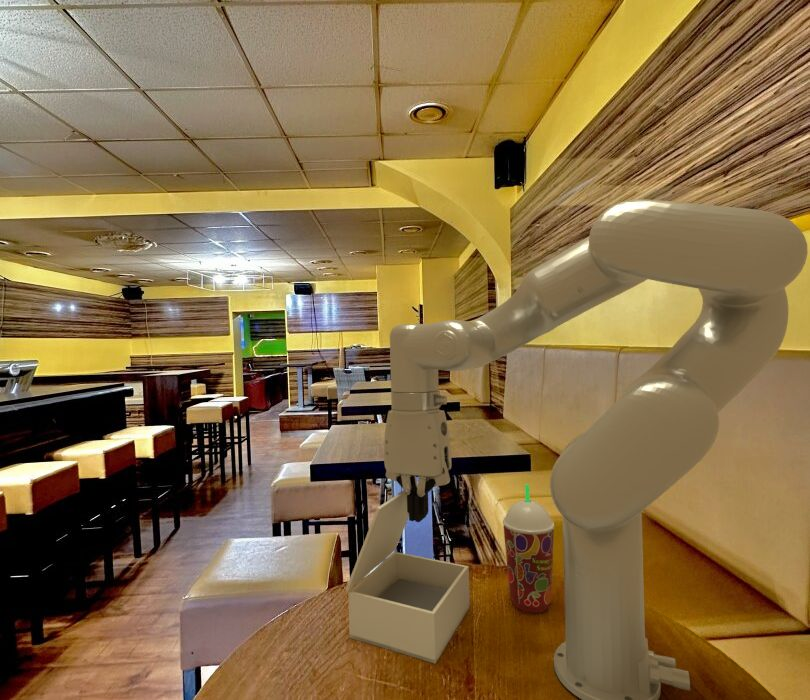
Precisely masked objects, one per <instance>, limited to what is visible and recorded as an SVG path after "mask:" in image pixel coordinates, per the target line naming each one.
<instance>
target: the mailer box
mask: <svg viewBox="0 0 810 700" xmlns="http://www.w3.org/2000/svg"><path fill="white" fill-rule="evenodd" d="M347 593H348V595H347V596H348V624H349V625H348V627H349V628H348V631H349V634H348V635H349V638H350V639H353V640H355V641H356V640H357V641H360V642H363V643H366V644H369V645H372V646H376V647H378V648H382V649H386V650H389V651H391V652H396V653H398V654H402V655H405V656H409V657H411V658H415V659H418V660H422V661H424V662H427V663H432V664H436V663H437V662H438V661H439V658H441V656H442V653H444V651H445V649H446V647H447V646H448V643H450V640H451V639H452V637H453V636H454V633H456V631H457V629H458V628H459V626H460V624H461V622H462V621H463V619H464V618H465V616H466V614H467V613H468V612H469V609H470V607H471V606H470V605H471V604H470V603H471V601H470V600H471V599H470V567H469V566H468V565H465V564H459V563H455V562H448V561H444V560H439V559H433V558H427V557H424V556H417V555H413V554H408V553H403V552H397V551H394V552H392V553H391V554H390V555H389V556H388V557H387V558H386V559H384V560H383V561H382V562H381V563H380V564H379V565H378V566H376V567H375V568H374V569H373V570H372V571H371V572H370V573H368V574H367V575H366V576H365V577H364V578H363V579H362V580H360V581H359V582H358V583H357V584H356V585H355V586H354V587H352V588H351V589H350V590H349V591H348V592H347Z"/></svg>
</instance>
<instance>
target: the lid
mask: <svg viewBox="0 0 810 700" xmlns="http://www.w3.org/2000/svg"><path fill="white" fill-rule="evenodd" d="M417 486H418V481H417ZM408 520H409V513H408V512H407V495H406V494H404V491H403V490H402V491H400V492H399V493H397V494H396V495H394V496H393V497H392V498H391V499H389V500H387V501H385V502H383V504H381V505H379V506H378V507H377V508H376V510H375V512H374V516H373V518H372V520H371V523H370V526H369V527H368V531H367V534H366V536H365V539H364V542H363V545H362V546H361V549H360V552H359V553H358V556H357V559H356V562H355V565H354V568H353V569H352V573H350V577H349V580H348V582H347V585H346V587H345V592H347V593H348V592H349V591H350V590H352V589H353V588H354V587H355V586H356V585H357V584H358V583H360V582H361V581H362V580H363V579H364V578H365V577H366V576H368V575H369V574H370V573H371V572H372V571H373V570H374V569H376V568H377V567H378V566H379V565H380V564H381V563H382V562H384V561H385V560H386V559H387V558H388V557H389V556H390V555H392V554H393V553H394V552H396V550H397V546H398V544H399V542H400V540H401V537H402V534H403V532H404V530H405V527H406V525H407V523H408Z"/></svg>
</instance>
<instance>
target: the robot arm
mask: <svg viewBox="0 0 810 700" xmlns="http://www.w3.org/2000/svg"><path fill="white" fill-rule="evenodd" d="M807 258H808V243H807V239H806V236H805V234H804V233H803V232H802V230H801V229H800V227H799V226H798V225H796V224H795V223H794V222H793V221H792V220H790V219H789V218H786V217H785V216H783V215H780V214H778V213H777V214H776V213H774V212H771V211H767V210H760V209H754V208H748V207H747V208H745V207H735V206H726V205H725V206H723V205H714V204H713V205H712V204H704V203H703V204H700V203H693V202H692V203H691V202H682V201H681V202H680V201H674V200H673V201H672V200H670V201H669V200H661V199H646V198H645V199H644V198H643V199H641V198H640V199H639V198H638V199H628V200H624V201H620V202H618V203H615V204H613V205H611V206H609V207H608V208H606V209H605V210H603V212H602V213H601V214H600V215H599V216H597V218H596V219H595V221H593V224H592V227H591V228H590V232H589V236H587V237H586V238H584V239H582V240H580V241H578V242H577V243H575V244H574V245H572V246H570V247H569V248H567V249H565V250H564V251H562V252H560V253H559V254H557V255H555V256H553V257H551V258H550V259H548V260H547V261H544V262H543V263H541V264H540V265H537V266H536V267H534V268H532V269H531V270H529V272H527V274H526V275H525V276H524V277H523V278H522V280H521V282H520V283H519V286H518V288H517V289H516V291H515V292H514V293H513V294H512V295H511V296H510V297H509V298H508V299H507V300H506V301H504V302H503V303H501V304H500V305H498V306H496V307H495V308H493V309H491V310H490V311H488V312H486V313H485V314H483V315H482V316H480V317H478V318H476V319H474V320H472V321H468V320H460V319H447V320H446V319H445V320H442V321H441V320H440V321H436V322H432V323H407V324H399V325H395V326H394V327H392V329H391V330H390V333H389V352H390V353H389V355H390V356H389V360H390V387H391V388H390V395H391V399H390V400H391V410H388V412H387V417H386V423H385V429H384V440H383V441H384V445H383V460H384V461H383V462H384V463H383V464H384V468H385V470H386V471H385V477H386V478H387V479H388V480H391V481H394V482H396V483H398V484H399V486H400V487H401V488H402V491H404V494H406V495H407V512H408V513H409V517H408V520H409V521H410V522H416V523H420V522H422V521H423V520H424V519H425V518H426V517H427V516H428V514H429V492H431V490H433V488H435V487H439V486H446V485H447V484H449V483H450V481H451V478H450V473H449V471H450V470H451V469H452V448H451V447H452V446H451V440H450V434H449V427H448V421H447V416H446V413H445V410H442V409H440V408H441V406H442V405H447V403H448V397H447V395H442V394H441V391H440V390H439V371H448V372H460V371H464V370H472V369H473V370H474V369H478V368H482V367H484V366H486V365H488V364H491V363H493V362H495V361H496V360H499V359H501V358H503V357H504V356H506V355H508V354H510V353H512V352H514V351H516V350H519V348H520V349H521V347H523V346H525V345H528V344H529V343H530V342H532V341H534V340H535V339H537V338H539V337H542V336H543V335H545V334H548V333H550V332H551V331H553V330H555V329H556V328H558V327H560V326H562V325H563V324H564V323H567V322H569V321H570V320H572V319H574V318H576V317H579V316H581V315H582V314H584V313H586V312H588V311H589V310H591V309H593V308H595V307H597V306H599V305H601V304H603V303H605V302H607V301H609V300H611V299H612V298H613V299H614V298H615V297H617V296H620V295H621V294H623V293H625V292H626V291H627V292H628V291H629V290H630V289H632V288H634V287H636V286H638V285H640V284H642V283H644V282H645V281H647V280H649V281H656V282H660V283H665V284H672V285H676V286H681V287H687V288H693V289H698V291H699V293H700V295H701V298H702V306H701V307H702V308H701V310H700V314H699V315H698V316H697V317H698V318H697V319H696V321H695V322H694V323H693V324H692V325H691V326H689V328H688V329H687V331H686V332H684V333H683V335H681V336H680V338H678V340H677V341H676V343H674V345H673V346H671V348H669V350H668V351H666V352H665V353H664V355H662V356H661V358H659V359H658V360H657V361H656V362H655V363H654V364H653V365H651V367H650V368H649V369H648V370H647V371H645V372H644V373H643V374H642V375H640V376H638V377H637V378H636V379H634V380H632V382H631V383H629V385H628V386H627V387H626V388H625V389H624V391H623V393H622V394H621V396H620V397H619V398H618V399H617V400H616V401H615V402H614V403H613V404H612V405H611V406H610V407H609V408H608V409H607V411H605V412H604V413H603V415H601V416H600V417H599V418H598V420H596V421H595V422H594V423H593V424H592V425H591V426H590V427H589V428H587V430H586V431H585V432H581V433H580V434H578V435H577V436H574V437H573V439H571V440H570V441H569V442H568V444H567V445H565V447H564V448H563V450H562V451H561V453H560V455H559V456H558V458H557V459H556V461H555V462H554V465H553V467H552V468H551V471H550V476H549V489H550V495H551V499H552V502H553V503H554V505H555V508H556V509H557V510H558V512H559V514H560V515H561V516H562V551H563V552H562V553H563V554H562V557H563V558H562V559H563V587H564V588H563V589H564V590H563V592H564V593H563V594H564V596H563V597H564V622H565V623H564V625H565V628H564V630H565V641H564V642H562V643H561V644H560V645H558V647H556V650H555V652H554V656H553V664H554V665H553V667H554V671H555V674H556V676H557V678H558V679H559V681H560V682H561V683H562V684H563V686H564V687H565V688H566V689H567V690H568V691H569V692H571V694H573V695H574V696H575V697H577V698H579V699H581V700H659V698H660V697H661V688H662V686H661V684H665V685H669V686H672V687H674V688H678V689H682V690H686V691H689V692H690V691H691V679H690V672H689V671H688V670H683V669H680V668H677V665H676V658H675V657H670V656H667V655H659V654H656V653H655V652H654V650H653V651H652V650H649V643H648V642H649V640H648V637H646V630H645V629H646V628H645V625H646V623H645V594H644V593H645V591H644V588H645V587H644V553H643V552H644V548H643V519H642V512H643V511H645V510H646V509H647V508H648V507H650V506H651V505H652V504H653V503H654V502H655V501H657V499H659V498H660V497H661V496H662V495H663V494H664V493H665V492H667V491H668V490H669V489H671V488H672V487H673V486H674V485H675V484H676V483H678V481H679V480H681V479H682V478H683V477H684V476H685V475H687V473H689V472H690V471H691V470H692V469H693V468H694V467H696V466H697V464H699V463H700V462H701V460H703V458H704V457H705V456H706V455H707V454H708V452H709V451H710V449H711V448H712V446H713V445H714V444H715V441H716V439H717V437H718V433H719V429H720V420H719V419H720V418H719V413H720V412H721V411H722V410H723V409H724V408H725V407H726V406H727V405H729V403H730V402H732V401H733V399H735V398H736V397H737V396H738V395H739V394H740V393H741V392H742V391H743V390H744V389H745V388H746V387H747V386H748V385H749V384H750V383H751V382H752V381H753V380H754V379H755V378H756V377H758V375H759V374H760V373H761V372H762V371H763V370H764V369H765V368H766V367H767V366H768V364H769V363H770V362H771V361H772V360H773V358H774V357H775V356H776V354H777V353H778V351H779V349H780V348H781V346H782V343H783V341H784V339H785V336H786V332H787V329H788V323H789V322H788V321H789V301H788V295H787V292H786V289H785V288H787V287H788V286H789V285H790V284H791V283H793V281H795V279H797V278H798V276H799V275H800V273H801V272H802V270H803V268H804V267H805V265H806V262H807ZM417 477H418V479H417ZM417 482H418V486H417Z"/></svg>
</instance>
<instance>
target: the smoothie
mask: <svg viewBox="0 0 810 700" xmlns="http://www.w3.org/2000/svg"><path fill="white" fill-rule="evenodd" d="M524 490H525V493H524V494H525V495H524V496H525V499H522V500H519V501H517V502H515V503H513V504H512V505H511V506H510V507H509V509H508V510H507V512H506V515H505V517H503V519H502V524H503V535H504V545H505V556H506V558H505V559H506V567H507V568H506V569H507V580H508V591H509V592H508V593H509V597H510V598H511V599H512V603H513V605H514V606H515V607H516V608H517V609H518V610H520V611H522V612H525V613H531V614H534V613H535V614H538V613H542V612H544V611H547V609H548V607H549V604H550V603H551V601H552V591H553V589H552V588H553V587H552V586H553V563H554V561H553V559H554V558H553V557H554V533H555V532H554V530H555V523H554V521H553V520H552V518H551V516H550V514H549V512H548V511H547V510H546V509H545V507H544V506H543V505H541V504H540V503H539V502H538V501H537V502H536V501H534V500H530V498H531V497H530V484H528V483H527V484H524Z"/></svg>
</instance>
